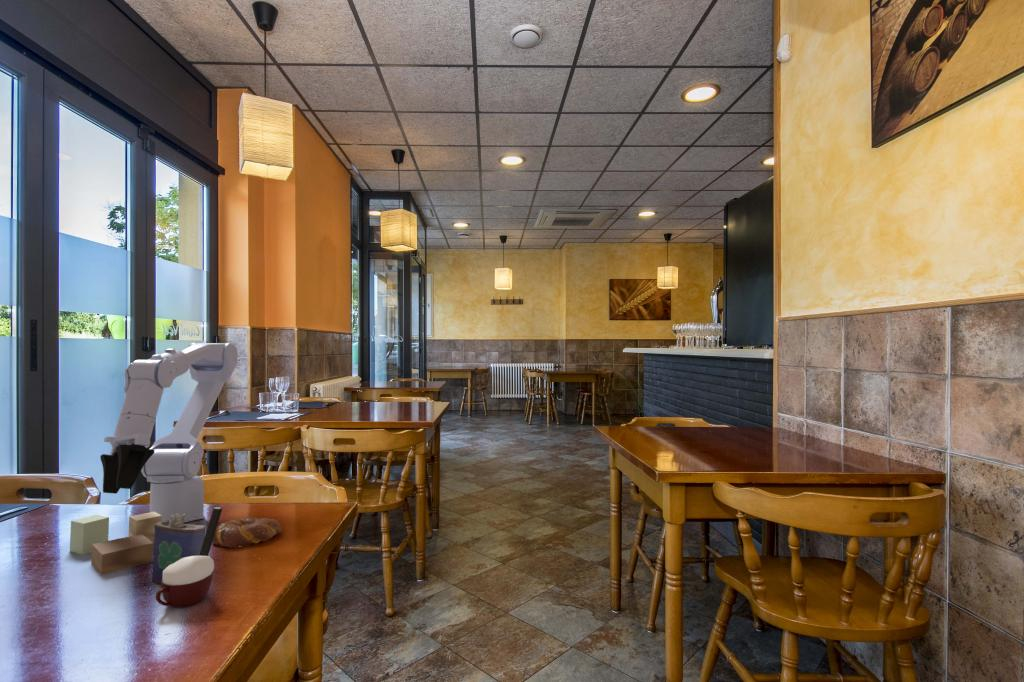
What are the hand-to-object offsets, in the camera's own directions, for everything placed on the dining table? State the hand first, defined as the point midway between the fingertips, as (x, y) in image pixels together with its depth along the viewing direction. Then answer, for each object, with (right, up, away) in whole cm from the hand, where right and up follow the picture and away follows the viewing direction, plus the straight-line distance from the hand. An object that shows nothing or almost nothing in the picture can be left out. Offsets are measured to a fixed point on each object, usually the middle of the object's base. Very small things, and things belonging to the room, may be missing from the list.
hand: (116, 490), depth 92 cm
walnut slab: (+5, -11, -5) cm, 13 cm away
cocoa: (+25, -11, -19) cm, 33 cm away
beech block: (+3, -11, +3) cm, 12 cm away
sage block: (-6, -11, +1) cm, 12 cm away
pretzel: (+20, -12, +7) cm, 24 cm away
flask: (+19, -11, -13) cm, 26 cm away
